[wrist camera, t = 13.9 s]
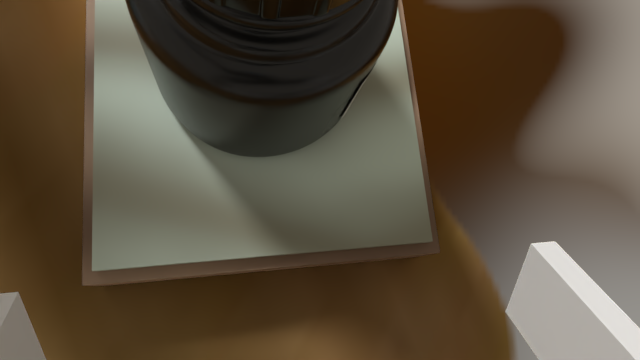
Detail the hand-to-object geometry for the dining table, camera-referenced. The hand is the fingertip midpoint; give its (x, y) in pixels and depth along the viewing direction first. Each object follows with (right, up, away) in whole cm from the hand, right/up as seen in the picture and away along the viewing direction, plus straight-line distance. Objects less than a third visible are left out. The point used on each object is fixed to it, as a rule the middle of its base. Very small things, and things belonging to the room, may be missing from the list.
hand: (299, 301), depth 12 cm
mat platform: (-3, +8, +12) cm, 14 cm away
